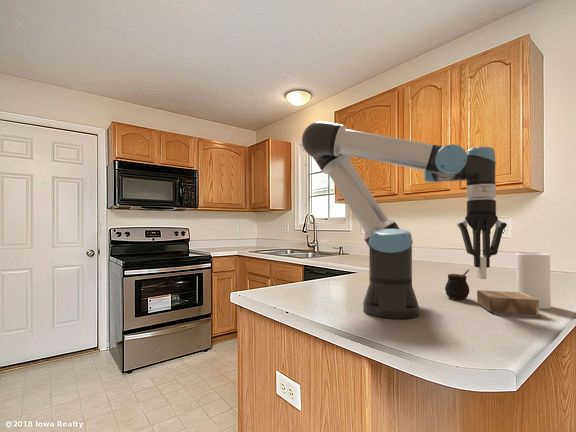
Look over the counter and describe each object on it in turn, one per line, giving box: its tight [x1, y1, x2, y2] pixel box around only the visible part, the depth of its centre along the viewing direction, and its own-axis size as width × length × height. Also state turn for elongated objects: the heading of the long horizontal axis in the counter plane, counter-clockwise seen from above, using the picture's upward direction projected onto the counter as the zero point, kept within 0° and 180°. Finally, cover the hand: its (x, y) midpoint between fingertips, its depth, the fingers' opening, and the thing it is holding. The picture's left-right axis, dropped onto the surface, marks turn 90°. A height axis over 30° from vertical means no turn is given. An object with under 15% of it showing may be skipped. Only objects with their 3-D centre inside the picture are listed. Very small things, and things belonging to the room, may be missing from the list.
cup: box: [516, 252, 552, 310], centre depth 98 cm, size 8×8×16 cm
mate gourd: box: [444, 268, 470, 301], centre depth 107 cm, size 7×8×10 cm
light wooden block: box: [476, 289, 540, 315], centre depth 93 cm, size 4×10×12 cm
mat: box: [491, 312, 542, 318], centre depth 93 cm, size 11×13×1 cm
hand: (481, 278), depth 94 cm, fingers closed
